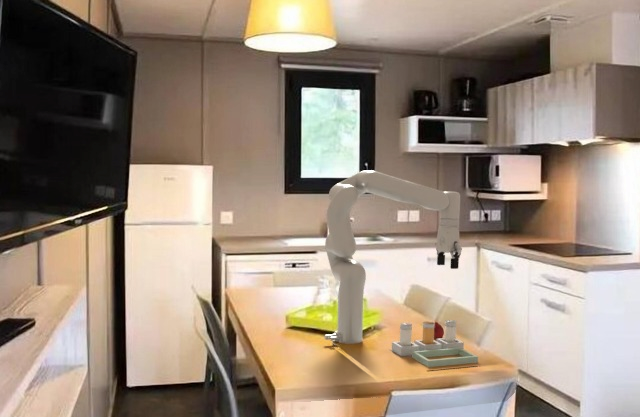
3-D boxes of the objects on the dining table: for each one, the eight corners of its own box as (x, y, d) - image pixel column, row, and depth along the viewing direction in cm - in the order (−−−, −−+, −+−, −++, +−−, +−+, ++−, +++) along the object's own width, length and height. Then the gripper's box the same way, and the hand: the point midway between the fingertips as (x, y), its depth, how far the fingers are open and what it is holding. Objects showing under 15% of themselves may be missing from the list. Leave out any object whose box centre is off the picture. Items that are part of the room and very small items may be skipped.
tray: (427, 371, 200) (428, 360, 200) (411, 361, 210) (412, 351, 210) (477, 366, 206) (478, 356, 206) (459, 357, 216) (460, 347, 216)
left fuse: (402, 354, 213) (403, 326, 213) (397, 351, 217) (398, 323, 217) (413, 353, 215) (413, 325, 214) (407, 350, 218) (408, 322, 218)
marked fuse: (425, 352, 216) (426, 324, 216) (419, 349, 220) (420, 321, 219) (435, 351, 218) (436, 323, 217) (429, 348, 221) (430, 321, 221)
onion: (444, 340, 239) (445, 320, 238) (442, 344, 233) (443, 323, 233) (429, 338, 241) (430, 318, 240) (427, 342, 235) (427, 321, 235)
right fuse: (447, 350, 219) (448, 323, 219) (441, 347, 223) (442, 320, 222) (457, 349, 220) (458, 322, 220) (451, 346, 224) (452, 319, 224)
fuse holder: (400, 361, 210) (400, 348, 210) (389, 353, 219) (389, 341, 219) (466, 355, 219) (466, 343, 219) (452, 348, 227) (453, 336, 227)
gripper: (429, 221, 246) (427, 263, 247) (453, 225, 230) (451, 270, 230) (445, 221, 248) (444, 263, 249) (470, 225, 232) (468, 269, 233)
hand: (447, 266), depth 240 cm, fingers open, 9 cm apart
